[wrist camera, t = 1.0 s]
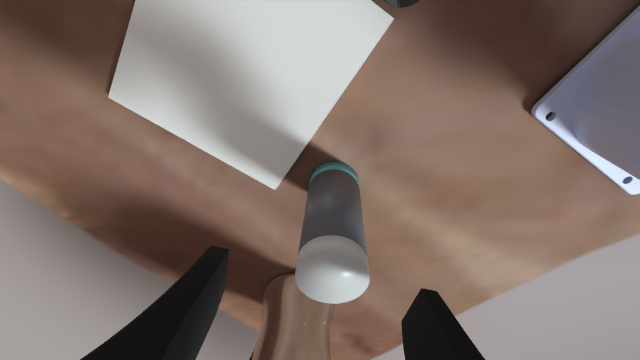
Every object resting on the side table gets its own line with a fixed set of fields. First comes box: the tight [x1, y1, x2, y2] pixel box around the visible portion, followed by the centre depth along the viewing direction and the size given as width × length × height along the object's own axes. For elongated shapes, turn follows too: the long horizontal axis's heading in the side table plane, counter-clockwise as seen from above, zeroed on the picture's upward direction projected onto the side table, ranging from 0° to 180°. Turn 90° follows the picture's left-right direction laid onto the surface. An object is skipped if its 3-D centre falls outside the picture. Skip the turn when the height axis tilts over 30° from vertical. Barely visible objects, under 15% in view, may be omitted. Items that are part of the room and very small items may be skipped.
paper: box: [108, 0, 394, 190], centre depth 16 cm, size 11×12×1 cm
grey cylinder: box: [295, 162, 369, 304], centre depth 17 cm, size 3×3×8 cm
